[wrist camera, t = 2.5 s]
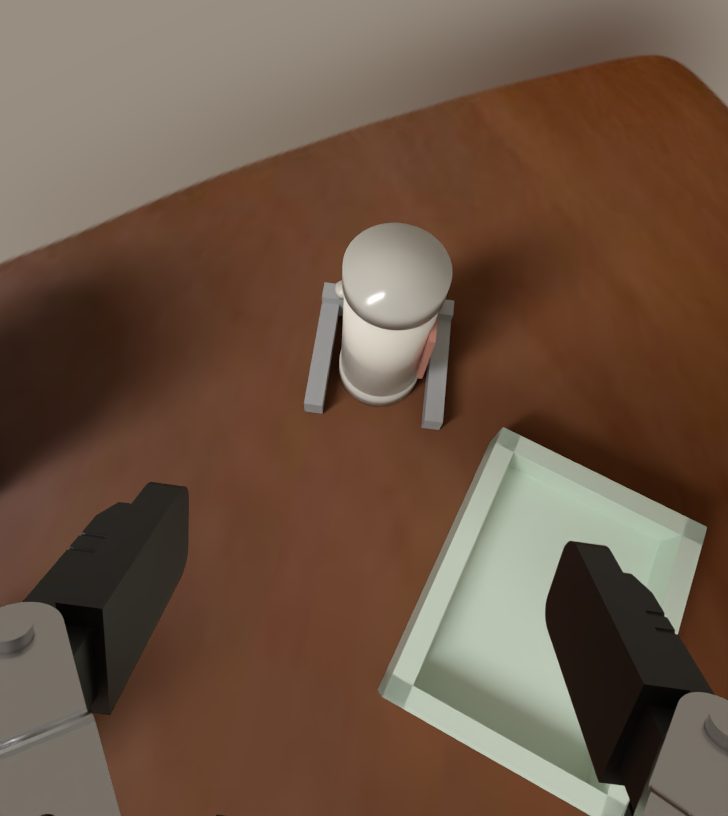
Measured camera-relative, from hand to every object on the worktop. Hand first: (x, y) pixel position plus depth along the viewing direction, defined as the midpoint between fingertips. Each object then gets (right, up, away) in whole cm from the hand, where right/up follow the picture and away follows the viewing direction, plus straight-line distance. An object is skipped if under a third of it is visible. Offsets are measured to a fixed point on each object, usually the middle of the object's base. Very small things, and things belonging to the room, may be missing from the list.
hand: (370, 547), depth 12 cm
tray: (+9, -7, +16) cm, 20 cm away
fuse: (+1, +5, +21) cm, 21 cm away
